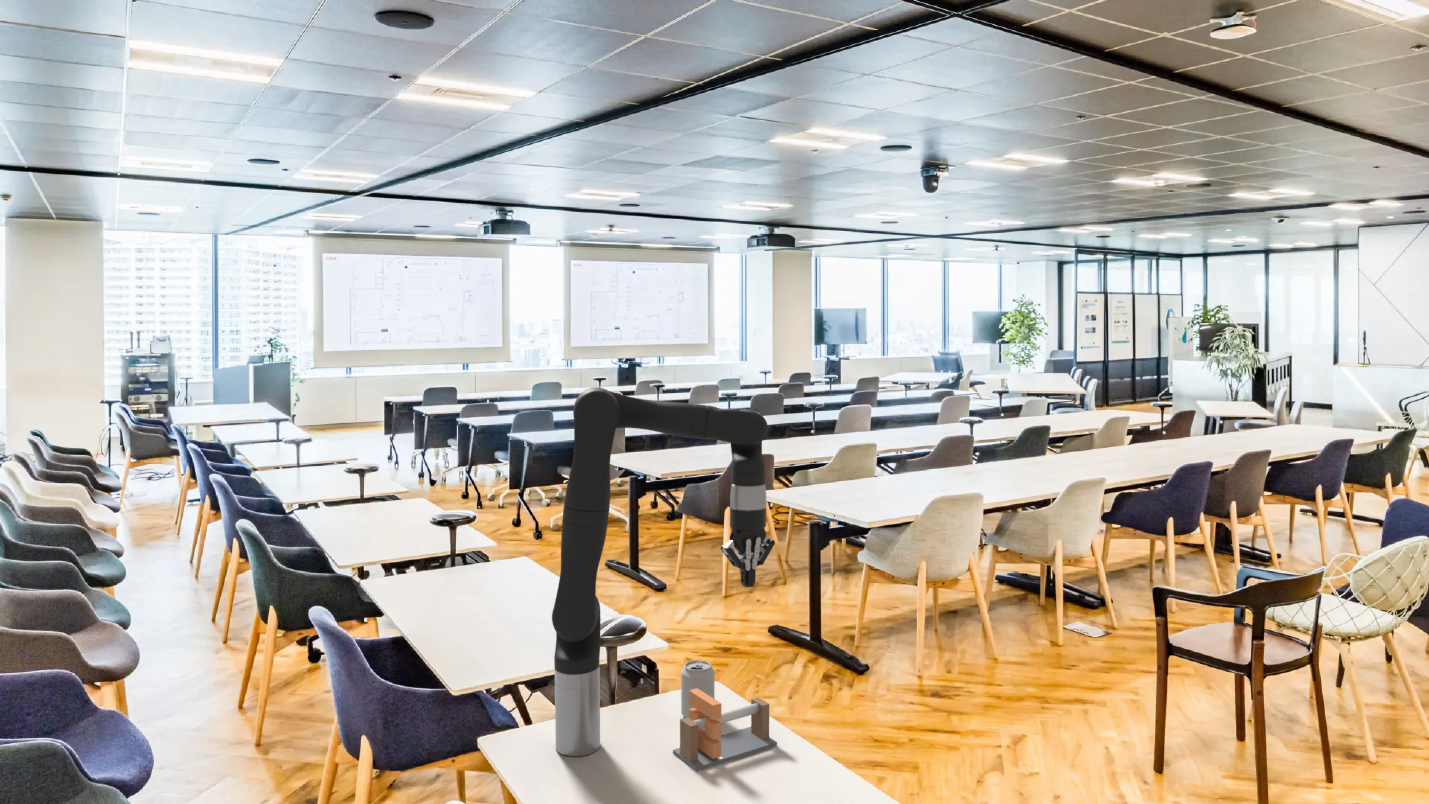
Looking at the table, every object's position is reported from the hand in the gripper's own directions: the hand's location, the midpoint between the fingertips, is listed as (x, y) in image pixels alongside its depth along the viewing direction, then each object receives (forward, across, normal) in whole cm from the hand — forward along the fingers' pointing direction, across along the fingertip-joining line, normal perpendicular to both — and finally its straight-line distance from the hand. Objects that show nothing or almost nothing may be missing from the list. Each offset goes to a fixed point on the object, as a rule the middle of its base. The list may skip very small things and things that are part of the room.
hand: (747, 586), depth 191 cm
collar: (+31, +12, +2) cm, 34 cm away
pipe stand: (+33, +7, +2) cm, 34 cm away
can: (+33, +3, -15) cm, 37 cm away
